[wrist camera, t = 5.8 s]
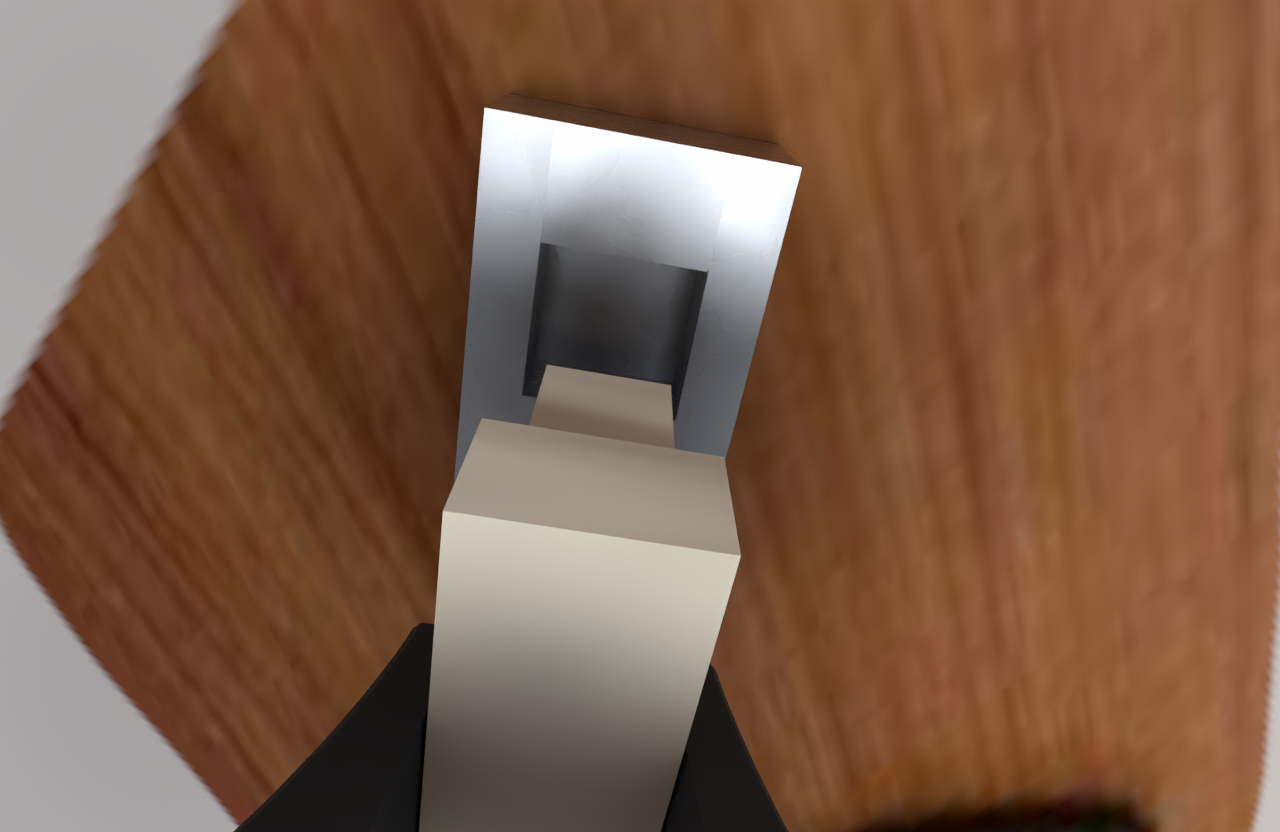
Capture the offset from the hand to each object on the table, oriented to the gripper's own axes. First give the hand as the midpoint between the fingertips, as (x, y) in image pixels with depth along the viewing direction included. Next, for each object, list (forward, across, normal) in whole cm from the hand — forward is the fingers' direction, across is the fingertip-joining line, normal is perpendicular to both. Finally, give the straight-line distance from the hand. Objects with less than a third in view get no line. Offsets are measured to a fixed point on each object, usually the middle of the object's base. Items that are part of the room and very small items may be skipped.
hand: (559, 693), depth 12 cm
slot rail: (+10, 0, 0) cm, 10 cm away
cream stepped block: (+3, 0, 0) cm, 3 cm away
